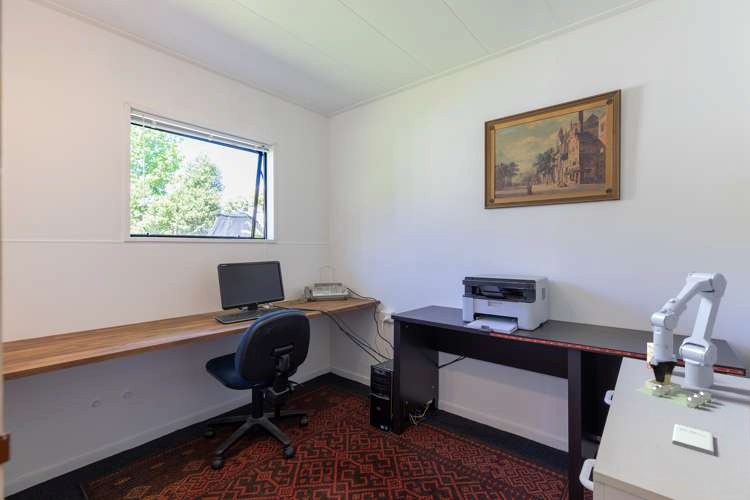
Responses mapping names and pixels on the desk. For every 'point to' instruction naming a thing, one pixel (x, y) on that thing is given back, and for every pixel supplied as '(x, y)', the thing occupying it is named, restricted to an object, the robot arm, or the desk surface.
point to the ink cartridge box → (649, 354)
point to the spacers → (691, 400)
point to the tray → (671, 388)
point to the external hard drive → (693, 439)
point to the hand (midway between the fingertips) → (662, 381)
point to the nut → (666, 379)
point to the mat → (673, 396)
